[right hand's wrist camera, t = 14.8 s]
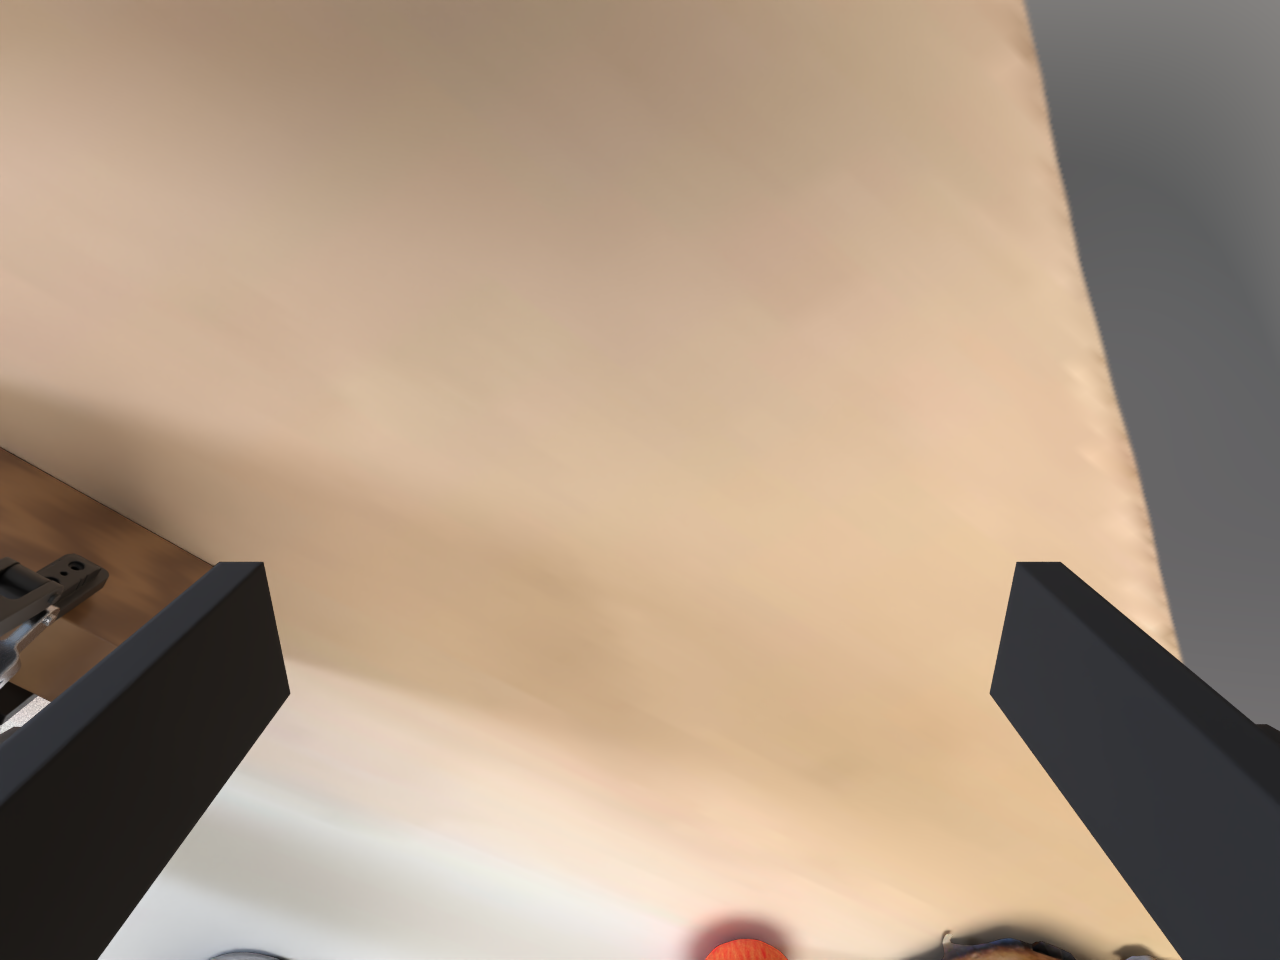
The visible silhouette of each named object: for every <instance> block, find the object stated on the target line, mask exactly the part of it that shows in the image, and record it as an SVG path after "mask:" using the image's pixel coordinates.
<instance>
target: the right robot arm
mask: <svg viewBox="0 0 1280 960" xmlns="http://www.w3.org/2000/svg"><path fill="white" fill-rule="evenodd" d="M289 695H290V689H289V684H288V680H287V675H286V670H285V665H284V660H283V655H282V650H281V645H280V641H279V636H278V631H277V626H276V621H275V616H274V611H273V606H272V601H271V597H270V592H269V587H268V582H267V577H266V572H265V567H264V562H219V563H218V564H216V565H215V566H214V567H213V568H212V569H210V570H209V571H208V572H207V573H206V574H204V575H203V576H202V577H201V578H200V579H198V580H197V581H196V582H195V583H194V584H192V585H191V586H190V587H189V588H188V589H186V590H185V591H184V592H183V593H182V594H180V595H179V596H178V597H177V598H176V599H174V600H173V601H172V602H171V603H170V604H168V605H167V606H166V607H165V608H164V609H162V610H161V611H160V612H159V613H158V614H156V615H155V616H154V617H153V618H152V619H150V620H149V621H148V622H147V623H146V624H144V625H143V626H142V627H141V628H140V629H138V630H137V631H136V632H135V633H134V634H132V635H131V636H130V637H129V638H128V639H126V640H125V641H124V642H123V643H122V644H120V645H119V646H118V647H117V648H116V649H114V650H113V651H112V652H111V653H110V654H108V655H107V656H106V657H105V658H104V659H102V660H101V661H100V662H99V663H98V664H96V665H95V666H94V667H93V668H92V669H90V670H89V671H88V672H87V673H86V674H84V675H83V676H82V677H81V678H80V679H78V680H77V681H76V682H75V683H74V684H72V685H71V686H70V687H69V688H68V689H66V690H65V691H64V692H63V693H62V694H60V695H59V696H58V697H57V698H56V699H54V700H53V701H52V702H51V703H50V704H48V705H47V706H46V707H45V708H44V709H42V710H41V711H40V712H39V713H38V714H36V715H35V716H34V717H33V718H32V719H30V720H29V721H28V722H27V723H25V724H24V725H23V726H22V727H13V728H11V729H9V730H7V731H6V732H4V733H2V734H0V960H98V958H99V957H100V955H101V954H102V953H103V951H104V950H105V949H106V947H107V946H108V944H109V943H110V942H111V940H112V939H113V938H114V936H115V935H116V933H117V932H118V931H119V929H120V928H121V926H122V925H123V924H124V922H125V921H126V920H127V918H128V917H129V915H130V914H131V913H132V911H133V910H134V909H135V907H136V906H137V904H138V903H139V902H140V900H141V899H142V898H143V896H144V895H145V893H146V892H147V891H148V889H149V888H150V887H151V885H152V884H153V882H154V881H155V880H156V878H157V877H158V875H159V874H160V873H161V871H162V870H163V869H164V867H165V866H166V864H167V863H168V862H169V860H170V859H171V858H172V856H173V855H174V853H175V852H176V851H177V849H178V848H179V847H180V845H181V844H182V842H183V841H184V840H185V838H186V837H187V835H188V834H189V833H190V831H191V830H192V829H193V827H194V826H195V824H196V823H197V822H198V820H199V819H200V818H201V816H202V815H203V813H204V812H205V811H206V809H207V808H208V807H209V805H210V804H211V802H212V801H213V800H214V798H215V797H216V796H217V794H218V793H219V791H220V790H221V789H222V787H223V786H224V784H225V783H226V782H227V780H228V779H229V778H230V776H231V775H232V773H233V772H234V771H235V769H236V768H237V767H238V765H239V764H240V762H241V761H242V760H243V758H244V757H245V756H246V754H247V753H248V751H249V750H250V749H251V747H252V746H253V744H254V743H255V742H256V740H257V739H258V738H259V736H260V735H261V733H262V732H263V731H264V729H265V728H266V727H267V725H268V724H269V722H270V721H271V720H272V718H273V717H274V716H275V714H276V713H277V711H278V710H279V709H280V707H281V706H282V705H283V703H284V702H285V700H286V699H287V698H288V696H289ZM990 695H991V696H992V698H993V699H994V700H995V702H996V703H997V705H998V706H999V707H1000V709H1001V710H1002V711H1003V713H1004V714H1005V716H1006V717H1007V718H1008V720H1009V721H1010V722H1011V724H1012V725H1013V727H1014V728H1015V729H1016V731H1017V732H1018V733H1019V735H1020V736H1021V738H1022V739H1023V740H1024V742H1025V743H1026V744H1027V746H1028V747H1029V749H1030V750H1031V751H1032V753H1033V754H1034V756H1035V757H1036V758H1037V760H1038V761H1039V762H1040V764H1041V765H1042V767H1043V768H1044V769H1045V771H1046V772H1047V773H1048V775H1049V776H1050V778H1051V779H1052V780H1053V782H1054V783H1055V784H1056V786H1057V787H1058V789H1059V790H1060V791H1061V793H1062V794H1063V796H1064V797H1065V798H1066V800H1067V801H1068V802H1069V804H1070V805H1071V807H1072V808H1073V809H1074V811H1075V812H1076V813H1077V815H1078V816H1079V818H1080V819H1081V820H1082V822H1083V823H1084V824H1085V826H1086V827H1087V829H1088V830H1089V831H1090V833H1091V834H1092V835H1093V837H1094V838H1095V840H1096V841H1097V842H1098V844H1099V845H1100V847H1101V848H1102V849H1103V851H1104V852H1105V853H1106V855H1107V856H1108V858H1109V859H1110V860H1111V862H1112V863H1113V864H1114V866H1115V867H1116V869H1117V870H1118V871H1119V873H1120V874H1121V875H1122V877H1123V878H1124V880H1125V881H1126V882H1127V884H1128V885H1129V887H1130V888H1131V889H1132V891H1133V892H1134V893H1135V895H1136V896H1137V898H1138V899H1139V900H1140V902H1141V903H1142V904H1143V906H1144V907H1145V909H1146V910H1147V911H1148V913H1149V914H1150V915H1151V917H1152V918H1153V920H1154V921H1155V922H1156V924H1157V925H1158V926H1159V928H1160V929H1161V931H1162V932H1163V933H1164V935H1165V936H1166V938H1167V939H1168V940H1169V942H1170V943H1171V944H1172V946H1173V947H1174V949H1175V950H1176V951H1177V953H1178V954H1179V955H1180V957H1181V958H1182V960H1280V731H1278V730H1276V729H1275V728H1273V727H1271V726H1269V725H1267V724H1254V723H1253V722H1252V721H1251V720H1250V719H1248V718H1247V717H1246V716H1245V715H1244V714H1242V713H1241V712H1240V711H1239V710H1238V709H1236V708H1235V707H1234V706H1233V705H1232V704H1230V703H1229V702H1228V701H1227V700H1226V699H1224V698H1223V697H1222V696H1221V695H1220V694H1218V693H1217V692H1216V691H1215V690H1214V689H1212V688H1211V687H1210V686H1209V685H1208V684H1206V683H1205V682H1204V681H1203V680H1202V679H1200V678H1199V677H1198V676H1197V675H1196V674H1194V673H1193V672H1192V671H1191V670H1190V669H1188V668H1187V667H1186V666H1185V665H1184V664H1182V663H1181V662H1180V661H1179V660H1178V659H1176V658H1175V657H1174V656H1173V655H1172V654H1170V653H1169V652H1168V651H1167V650H1166V649H1164V648H1163V647H1162V646H1161V645H1160V644H1158V643H1157V642H1156V641H1155V640H1154V639H1152V638H1151V637H1150V636H1149V635H1148V634H1146V633H1145V632H1144V631H1143V630H1142V629H1140V628H1139V627H1138V626H1137V625H1136V624H1134V623H1133V622H1132V621H1131V620H1130V619H1128V618H1127V617H1126V616H1125V615H1124V614H1122V613H1121V612H1120V611H1119V610H1118V609H1116V608H1115V607H1114V606H1113V605H1112V604H1110V603H1109V602H1108V601H1107V600H1106V599H1104V598H1103V597H1102V596H1101V595H1100V594H1098V593H1097V592H1096V591H1095V590H1094V589H1092V588H1091V587H1090V586H1089V585H1088V584H1086V583H1085V582H1084V581H1083V580H1082V579H1080V578H1079V577H1078V576H1077V575H1076V574H1074V573H1073V572H1072V571H1071V570H1070V569H1068V568H1067V567H1066V566H1065V565H1064V564H1062V563H1061V562H1016V567H1015V572H1014V577H1013V582H1012V587H1011V592H1010V597H1009V601H1008V606H1007V611H1006V616H1005V621H1004V626H1003V631H1002V636H1001V641H1000V645H999V650H998V655H997V660H996V665H995V670H994V675H993V680H992V684H991V689H990Z"/></svg>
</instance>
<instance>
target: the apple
mask: <svg viewBox="0 0 1280 960" xmlns="http://www.w3.org/2000/svg"><path fill="white" fill-rule="evenodd" d="M705 960H788V959H787V958H786V957H785V956H784V955H783V954H782V953H781V952H780V951H779V950H777V949H776V948H774V947H773V946H771V945H769V944H767V943H765V942H762V941H759V940H755V939H737V940H733V941H730V942H727V943H723V944H721V945H719V946H717V947H716V948H715V949H714V950H712V952H711V953H710V954H709V955H708V956H707V957H706V959H705Z"/></svg>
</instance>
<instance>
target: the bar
mask: <svg viewBox="0 0 1280 960" xmlns="http://www.w3.org/2000/svg"><path fill="white" fill-rule="evenodd" d="M72 553H75V554H77V555H80V556H82V557H84V558H85V559H87V560H89V561H91V562H93V563H95V564H97V565H98V566H100V567H102V568H104V569H106V570H107V571H108V573H109V577H108V579H107V581H106V583H105V585H104V587H103V588H102V589H100V590H99V591H98V592H96V593H95V594H93V595H92V596H90V597H89V598H88V599H86V600H85V601H83V602H82V603H80V604H79V605H77V606H76V607H75V608H73V609H72V610H70V611H69V612H67V613H66V614H65V615H63V616H62V617H60V618H59V619H57V620H56V621H55V622H53V623H52V624H51V625H50V626H48V627H47V628H46V629H45V630H43V631H42V632H41V633H40V634H39V635H38V636H37V637H36V638H35V639H34V640H33V641H32V642H31V643H30V644H29V645H28V646H27V647H26V648H25V649H24V650H23V651H22V652H21V653H20V654H19V656H20V660H21V668H20V670H19V671H18V672H17V673H16V674H15V675H14V676H13V677H12V678H11V679H10V680H9V682H11V683H13V684H15V685H17V686H19V687H21V688H23V689H25V690H27V691H29V692H31V693H34V694H36V695H38V696H40V697H42V698H44V699H46V700H48V701H50V702H52V701H53V700H54V699H56V698H57V697H58V696H59V695H60V694H62V693H63V692H64V691H65V690H66V689H68V688H69V687H70V686H71V685H72V684H74V683H75V682H76V681H77V680H78V679H80V678H81V677H82V676H83V675H84V674H86V673H87V672H88V671H89V670H90V669H92V668H93V667H94V666H95V665H96V664H98V663H99V662H100V661H101V660H102V659H104V658H105V657H106V656H107V655H108V654H110V653H111V652H112V651H113V650H114V649H116V648H117V647H118V646H119V645H120V644H122V643H123V642H124V641H125V640H126V639H128V638H129V637H130V636H131V635H132V634H134V633H135V632H136V631H137V630H138V629H140V628H141V627H142V626H143V625H144V624H146V623H147V622H148V621H149V620H150V619H152V618H153V617H154V616H155V615H156V614H158V613H159V612H160V611H161V610H162V609H164V608H165V607H166V606H167V605H168V604H170V603H171V602H172V601H173V600H174V599H176V598H177V597H178V596H179V595H180V594H182V593H183V592H184V591H185V590H186V589H188V588H189V587H190V586H191V585H192V584H194V583H195V582H196V581H197V580H198V579H200V578H201V577H202V576H203V575H204V574H206V573H207V572H208V571H209V570H210V569H212V568H213V566H211V565H210V564H208V563H206V562H204V561H202V560H201V559H199V558H197V557H195V556H193V555H192V554H190V553H188V552H186V551H184V550H183V549H181V548H179V547H177V546H176V545H174V544H172V543H170V542H168V541H167V540H165V539H163V538H161V537H159V536H158V535H156V534H154V533H152V532H150V531H149V530H147V529H145V528H143V527H141V526H140V525H138V524H136V523H134V522H133V521H131V520H129V519H127V518H125V517H124V516H122V515H120V514H118V513H116V512H115V511H113V510H111V509H109V508H107V507H106V506H104V505H102V504H100V503H98V502H97V501H95V500H93V499H91V498H90V497H88V496H86V495H84V494H82V493H81V492H79V491H77V490H75V489H73V488H72V487H70V486H68V485H66V484H64V483H63V482H61V481H59V480H57V479H56V478H54V477H52V476H50V475H48V474H47V473H45V472H43V471H41V470H39V469H38V468H36V467H34V466H32V465H30V464H29V463H27V462H25V461H23V460H21V459H20V458H18V457H16V456H14V455H13V454H11V453H9V452H7V451H5V450H4V449H2V448H0V559H2V558H4V557H10V558H12V559H14V560H16V561H17V562H19V563H20V564H21V565H23V566H25V567H27V568H28V569H30V570H32V571H34V572H37V571H38V570H40V569H42V568H43V567H45V566H47V565H49V564H50V563H52V562H54V561H55V560H57V559H59V558H60V557H62V556H64V555H66V554H72ZM21 625H22V624H20V625H19V626H17V627H15V628H14V629H12V630H11V631H9V632H7V633H6V634H4V635H2V636H1V637H0V640H4V639H6V638H8V637H9V636H10V635H11V634H12V633H13V632H14V631H15V630H17V629H18V628H19V627H20V626H21Z"/></svg>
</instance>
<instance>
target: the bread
mask: <svg viewBox="0 0 1280 960" xmlns="http://www.w3.org/2000/svg"><path fill="white" fill-rule="evenodd" d="M952 936H953V935H952V934H946V935H945V937H944V940H943V947H944V957H943V959H942V960H1076V959H1075V958H1074V957H1073V956H1072V954H1071V953H1069V952H1067V951H1064V950H1062V949H1060V948H1058V947H1055V946H1053V945H1050V944H1048V943H1045V942H1043V941H1041V942H1035V943H1033V944H1028V943H1025V942H1023V941H1020V940H1016V939H1012V938H1006V939H1000V940H996V941H993V942H989V943H984V944H977V945H960V944H954V943H951V941H950V939H951V937H952ZM1126 960H1156V959H1155V958H1154V957H1152V956H1149V955H1146V956H1131V957H1129V958H1128V959H1126Z"/></svg>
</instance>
